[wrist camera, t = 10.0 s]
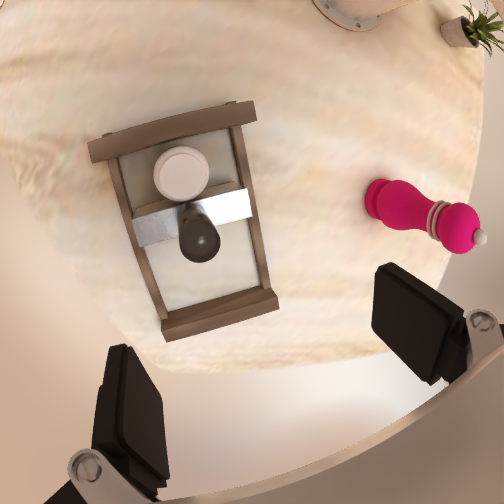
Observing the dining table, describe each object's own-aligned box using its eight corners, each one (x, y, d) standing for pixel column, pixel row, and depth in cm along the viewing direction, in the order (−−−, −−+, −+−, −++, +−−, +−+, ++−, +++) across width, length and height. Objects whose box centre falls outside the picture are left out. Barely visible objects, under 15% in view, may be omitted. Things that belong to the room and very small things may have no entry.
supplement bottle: (205, 185, 33) (218, 200, 24) (162, 195, 32) (158, 214, 23) (198, 142, 31) (208, 139, 22) (153, 152, 30) (145, 153, 21)
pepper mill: (398, 210, 42) (496, 252, 25) (367, 228, 42) (467, 282, 24) (391, 169, 39) (499, 198, 21) (357, 185, 39) (470, 223, 21)
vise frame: (104, 135, 28) (85, 132, 20) (233, 102, 30) (251, 90, 23) (167, 327, 38) (169, 365, 31) (270, 297, 41) (291, 328, 34)
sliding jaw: (137, 207, 31) (116, 247, 19) (234, 181, 34) (274, 203, 21) (144, 230, 33) (130, 283, 20) (239, 204, 35) (280, 240, 22)
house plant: (424, -11, 28) (482, -27, 13) (462, 25, 32) (517, 19, 18) (424, 36, 32) (494, 25, 17) (464, 71, 36) (525, 72, 22)
